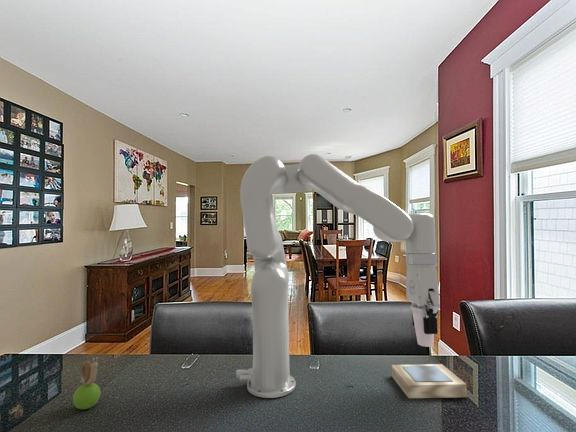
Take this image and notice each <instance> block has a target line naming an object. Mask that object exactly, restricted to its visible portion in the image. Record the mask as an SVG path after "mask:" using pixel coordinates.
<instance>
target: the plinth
mask: <svg viewBox="0 0 576 432" xmlns="http://www.w3.org/2000/svg"><path fill="white" fill-rule="evenodd" d="M391 377H392V378H393V380H394V381H395V383H396V384H397V385H398V386H399V388H400V390H402V392H403V393H404V395H405V396H406V397H407V398H408V399H438V398H439V399H443V398H445V399H446V398H447V399H449V398H453V399H454V398H468V390H467V387H468V386H467V383H466V382H465V381H464V380H462V379H461V378H459V376H457V375H456V374H455V373H453V372H452V371H451V370H449V368H447V367H446V366H445V365H444V364H442V363H436V364H435V363H427V364H426V363H425V364H421V363H419V364H416V363H415V364H391Z"/></svg>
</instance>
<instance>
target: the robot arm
mask: <svg viewBox="0 0 576 432" xmlns="http://www.w3.org/2000/svg"><path fill="white" fill-rule="evenodd" d="M307 191H314V192H315V193H317V194H319V195H320V196H321V197H323V198H324V199H325V200H327V202H329V203H330V204H331V205H333V206H334V207H336V208H337V209H339V210H341V211H342V212H344V213H349V214H352V215H355V216H357V217H359V219H360V218H361V219H362V220H364V221H365V222H368V223H369V224H370V225H371V226H372V230H373V233H374V235H375V236H376V238H378V239H379V240H381V241H383V242H395V243H399V242H404V243H405V266H406V277H405V280H406V281H405V283H406V284H405V289H406V291H405V294H406V296H405V297H406V299H407V301H409V302H410V303H411V305H413V304H416V305H418V306H423V310H424V315H425V317H423V323H424V333H425V334H434V335H437V334H438V333H439V332H438V331H439V329H438V317H439V315H438V313H439V310H440V307H441V306H440V294H439V293H440V291H439V290H440V289H439V281H438V273H437V268H436V267H438V260H437V259H438V256H437V255H438V253H437V240H436V239H437V238H436V220H435V217H434V215H433V214H431V213H429V212H427V213H426V212H421V213H420V212H419V213H418V212H417V213H409V214H408V213H407V212H406V211H405V210H403V209H401V208H400V207H399V206H397V205H396V204H395V203H393V202H392V201H390V200H389V199H388V198H387V197H385V196H383V195H381V194H379V193H378V192H375V191H374V190H372V189H370V188H368V187H367V186H365V185H362V184H360V183H358V182H357V181H356V180H354V179H353V178H351V177H350V176H349V175H348V174H346V173H344V172H343V171H342V170H340V168H338V167H336V166H335V165H334V164H332V163H331V162H329V161H328V160H327V159H326V158H324V157H323V156H321V155H318V154H315V153H311V154H308V155H306V156H304V157H303V158H302V159H301V160H300V162H299V163H295V164H286V165H284V163H283V161H282V160H280V159H279V158H277V157H275V156H271V155H266V156H265V155H264V156H262V157H260V158H258V159H256V160H255V161H254V162H253V163H251V165H249V167H248V168H247V169H246V170H245V172H244V175H243V177H242V180H241V183H240V191H239V193H240V194H239V197H240V206H241V210H242V211H241V213H242V218H243V219H242V221H243V226H244V233H245V240H246V247H247V250H248V253H250V255H251V256H252V258H253V266H254V271H255V272H254V273H253V275H252V279H251V284H250V293H251V294H250V295H251V296H250V297H251V310H252V311H251V314H252V318H251V319H252V367H251V368H249V367H248V369H236V372H235V373H236V374H235V377H236V378H237V379H238V378H239V382H245V381H247V383H246V384H247V385H246V389H247V391H248V392H249V393H250V394H251V395H252V396H255V397H259V398H263V399H276V398H277V399H278V398H281V397H284V396H287V395H290V394H291V393H293V391H294V390H296V385H297V384H296V379H295V378H294V377H293V376H292V375H291V373H290V322H289V321H290V319H289V318H290V316H289V315H290V314H289V281H290V280H289V279H290V278H289V277H290V276H289V271H288V264H287V259H286V254H285V249H284V248H285V247H284V243H283V242H284V241H283V239H282V235H281V233H280V231H279V230H278V228H277V227H278V226H277V221H276V217H275V211H274V204H273V195H278V194H279V195H281V194H290V193H300V192H307ZM426 303H427V304H428V305H426ZM427 308H430V309H429V311H428V310H427ZM411 318H412V319H411V321H412V326H414V327H415V325H414V319H413V313H412V312H411Z"/></svg>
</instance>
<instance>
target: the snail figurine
mask: <svg viewBox="0 0 576 432" xmlns="http://www.w3.org/2000/svg"><path fill="white" fill-rule="evenodd" d="M98 359H99V356H96V357H93V358H92V361H93V362H90V361H89V360H86V361H84V362H82V363H81V367H80V373H81V378H80V379H81V383H82V384H81V385H80V386H78V388H76V390H75V391H74V393H73V396H72V403H73V406H74V407H75V408H77V409H79V410H87V409H88V410H89V409H91V408H92V407H93V406H95V405H96V404H97V402H99V399H100V397H101V388H100V385H98V384H97V383H95V380H96V377H97V372H98V371H97V369H98V365H99V364H98V361H96V360H98Z"/></svg>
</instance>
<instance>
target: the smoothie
mask: <svg viewBox="0 0 576 432" xmlns="http://www.w3.org/2000/svg"><path fill="white" fill-rule="evenodd" d="M426 305H429V303H426ZM429 309H430V308H427V310H428V311H429ZM410 310H411V314H412V313H413V319H414V325H415V326H414V328H415V329H414V331H415V334H416V335H415V336H416V341H417V345H419V346H420V347H426V348H427V347H428V348H430V347H433V346H434V339H435V334H425V333H424V323H423V317H425V315H424V310H423V306H418V305H416V304H413V305H412V304H411V305H410Z"/></svg>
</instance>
